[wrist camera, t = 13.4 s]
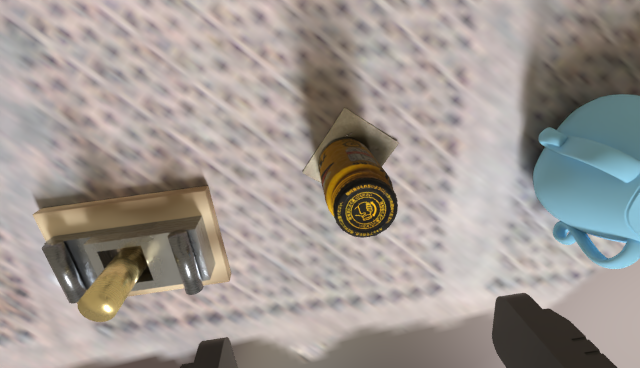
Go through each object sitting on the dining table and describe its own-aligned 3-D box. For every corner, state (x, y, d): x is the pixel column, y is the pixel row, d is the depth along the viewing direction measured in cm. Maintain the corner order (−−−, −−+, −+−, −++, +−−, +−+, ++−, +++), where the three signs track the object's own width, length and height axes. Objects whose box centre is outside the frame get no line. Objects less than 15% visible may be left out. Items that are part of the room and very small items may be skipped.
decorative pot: (702, 112, 39) (894, 144, 27) (594, 247, 46) (709, 324, 33) (573, 39, 35) (731, 36, 23) (472, 200, 41) (552, 268, 29)
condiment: (302, 172, 38) (307, 224, 27) (344, 107, 36) (369, 135, 25) (355, 201, 40) (380, 262, 29) (398, 142, 38) (444, 182, 27)
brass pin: (119, 240, 37) (71, 296, 29) (149, 236, 38) (109, 290, 29) (129, 264, 39) (85, 324, 30) (157, 260, 39) (121, 318, 31)
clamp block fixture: (42, 208, 37) (-4, 238, 31) (208, 185, 38) (193, 211, 32) (84, 295, 42) (51, 336, 36) (231, 273, 42) (222, 310, 36)
